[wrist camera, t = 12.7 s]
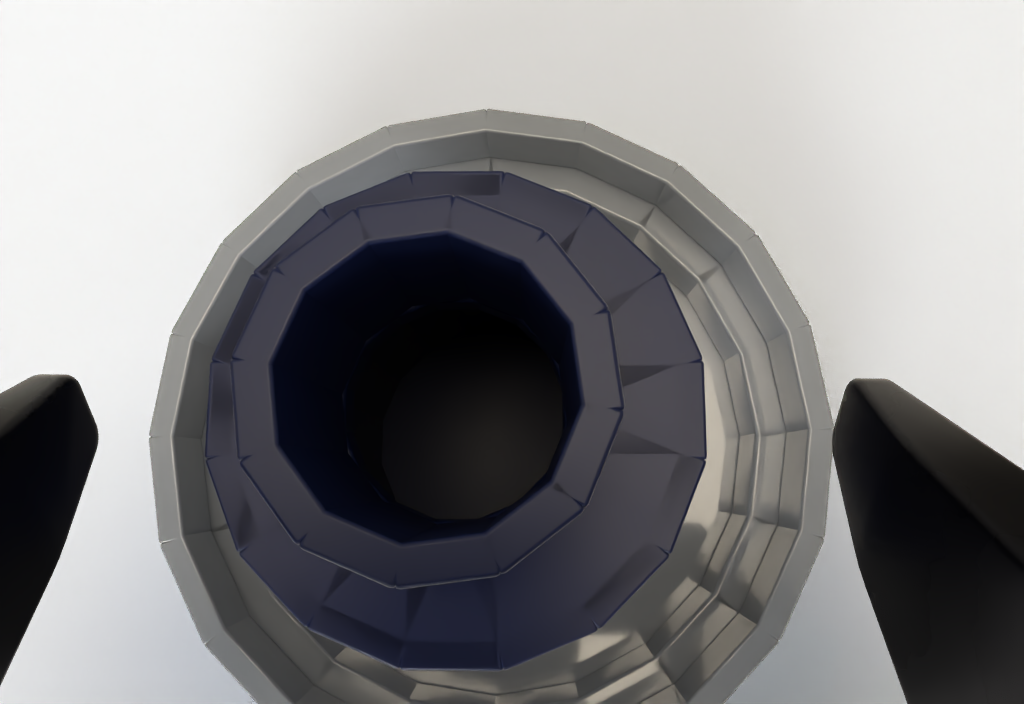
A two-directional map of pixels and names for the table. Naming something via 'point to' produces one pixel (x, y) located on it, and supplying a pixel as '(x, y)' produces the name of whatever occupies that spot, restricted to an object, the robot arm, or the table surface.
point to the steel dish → (714, 508)
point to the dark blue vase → (456, 421)
